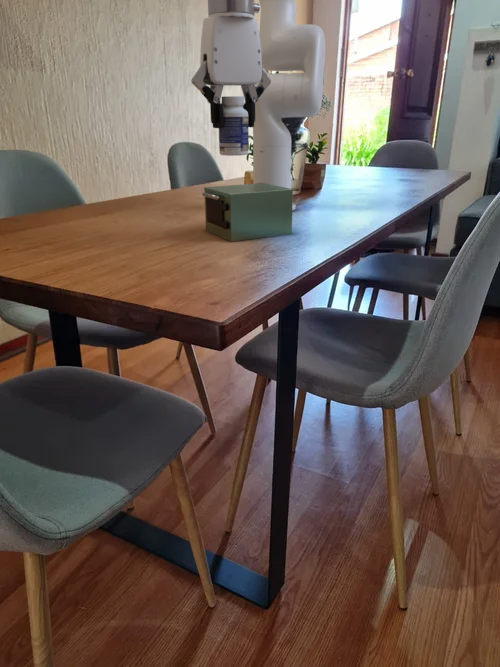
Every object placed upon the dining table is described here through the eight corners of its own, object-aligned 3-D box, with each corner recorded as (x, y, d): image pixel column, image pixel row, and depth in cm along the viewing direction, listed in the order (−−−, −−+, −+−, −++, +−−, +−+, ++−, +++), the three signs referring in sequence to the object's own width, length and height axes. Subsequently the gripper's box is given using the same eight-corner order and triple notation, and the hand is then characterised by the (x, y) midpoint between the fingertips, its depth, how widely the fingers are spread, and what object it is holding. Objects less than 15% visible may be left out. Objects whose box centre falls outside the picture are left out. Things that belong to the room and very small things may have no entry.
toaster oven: (200, 231, 108) (198, 187, 104) (262, 224, 115) (262, 182, 111) (225, 242, 98) (224, 194, 95) (291, 234, 105) (292, 189, 101)
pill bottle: (248, 156, 91) (248, 96, 87) (218, 156, 91) (217, 96, 87) (248, 153, 96) (248, 96, 92) (220, 153, 96) (218, 96, 92)
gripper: (264, 16, 91) (264, 125, 98) (173, 9, 83) (181, 128, 91) (286, 9, 85) (284, 126, 92) (191, 1, 77) (198, 129, 85)
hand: (233, 126), depth 91 cm, fingers closed on pill bottle, 5 cm apart
